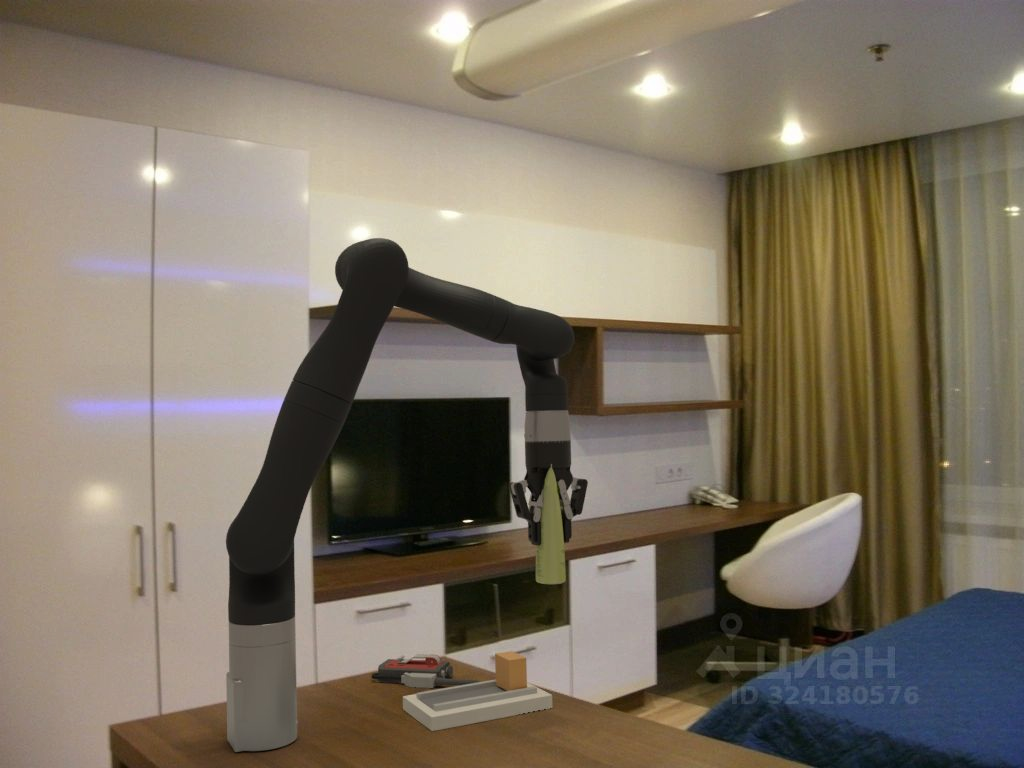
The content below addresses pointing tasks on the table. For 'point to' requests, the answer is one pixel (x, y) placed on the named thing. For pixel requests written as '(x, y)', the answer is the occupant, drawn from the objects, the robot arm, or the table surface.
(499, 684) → the switch tab
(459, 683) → the walkie-talkie
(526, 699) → the switch board
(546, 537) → the tube
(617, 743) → the table surface
